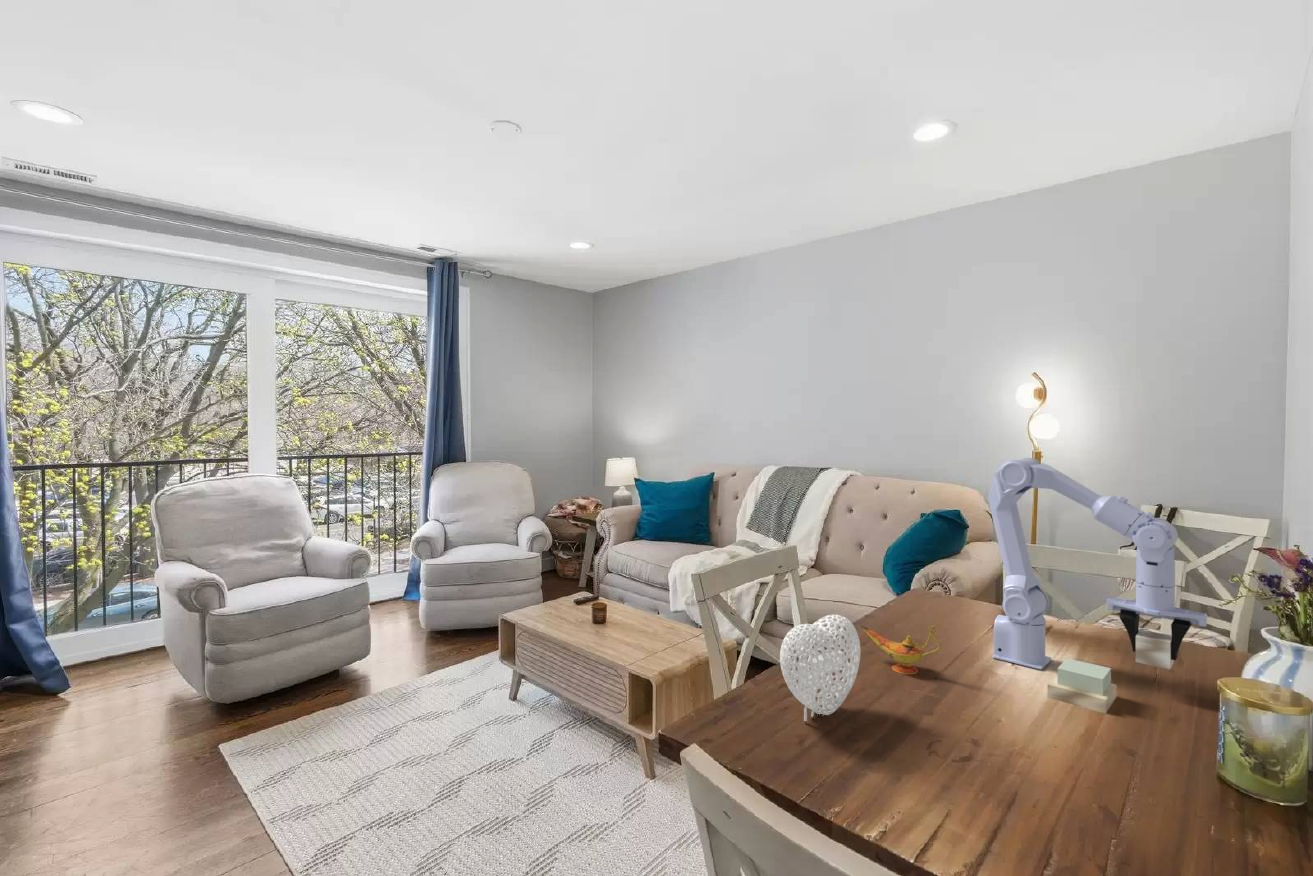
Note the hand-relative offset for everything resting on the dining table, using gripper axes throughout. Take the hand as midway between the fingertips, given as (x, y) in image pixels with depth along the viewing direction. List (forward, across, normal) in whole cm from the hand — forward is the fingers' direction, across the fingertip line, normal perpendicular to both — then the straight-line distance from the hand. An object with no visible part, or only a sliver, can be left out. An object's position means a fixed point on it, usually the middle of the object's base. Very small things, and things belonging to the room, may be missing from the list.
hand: (1154, 654), depth 114 cm
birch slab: (+8, -9, -11) cm, 17 cm away
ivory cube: (+1, 0, 0) cm, 1 cm away
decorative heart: (+8, -40, -52) cm, 66 cm away
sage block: (+5, -9, -11) cm, 15 cm away
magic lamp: (+8, -40, -22) cm, 46 cm away
